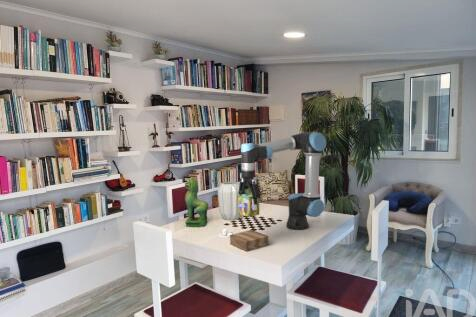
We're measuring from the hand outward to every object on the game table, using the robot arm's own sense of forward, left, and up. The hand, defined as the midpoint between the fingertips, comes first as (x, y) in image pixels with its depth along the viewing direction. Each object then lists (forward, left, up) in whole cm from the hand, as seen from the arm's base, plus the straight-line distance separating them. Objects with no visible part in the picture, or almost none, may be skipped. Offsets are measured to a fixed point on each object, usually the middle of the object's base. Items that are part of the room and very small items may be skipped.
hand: (248, 208), depth 194 cm
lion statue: (+3, -58, -22) cm, 62 cm away
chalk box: (0, 0, -4) cm, 4 cm away
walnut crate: (0, 0, -22) cm, 22 cm away
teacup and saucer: (+2, -22, -22) cm, 31 cm away
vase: (-26, -57, -22) cm, 67 cm away
